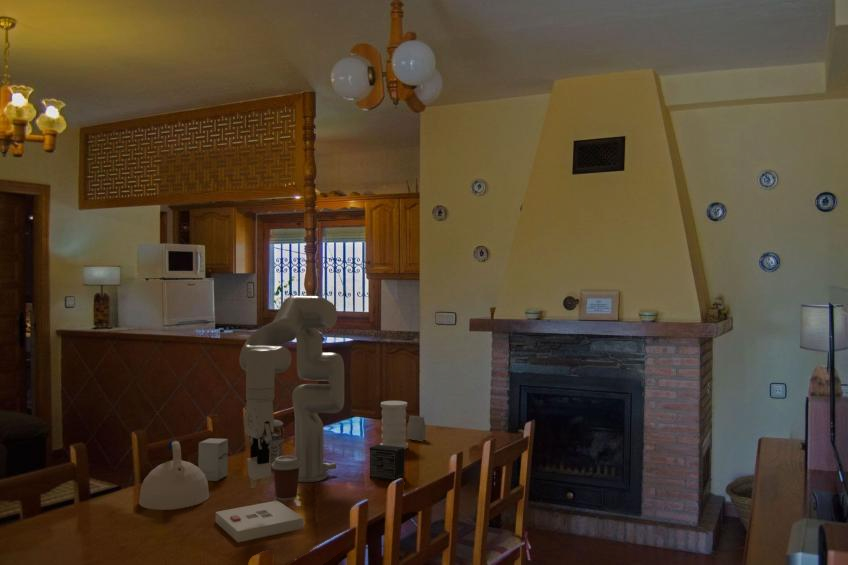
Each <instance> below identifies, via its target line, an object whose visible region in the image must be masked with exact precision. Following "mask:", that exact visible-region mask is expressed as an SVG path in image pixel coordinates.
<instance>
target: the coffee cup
mask: <svg viewBox="0 0 848 565" xmlns="http://www.w3.org/2000/svg"><path fill="white" fill-rule="evenodd" d="M299 467H301V462H299V460H298V458H297V457H296V456H295V455H283V456H280V457H277V458H275V461H274V463H272V464H271V469H273V478H274V493H275V499H276V501H282V502H283V501H293V500H295V499H297V498H298V487H299V482H298V477H299Z"/></svg>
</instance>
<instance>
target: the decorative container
mask: <svg viewBox="0 0 848 565" xmlns="http://www.w3.org/2000/svg"><path fill="white" fill-rule="evenodd" d="M407 407H408V402H407V401H403V400H386V401H385V400H384V401H381V402H380V408H382V409H381V417H382V418H381V421H380V422H381V424H382V425H381V436H380V438H381V442H380V443H379V445H387V446H397V447H404V449H405V450H407V449H408V448H409V444H408V442H406V440H407V426H406V423H407V418H406V415H407V410H406V409H407ZM406 448H407V449H406Z"/></svg>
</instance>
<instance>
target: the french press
mask: <svg viewBox="0 0 848 565" xmlns="http://www.w3.org/2000/svg"><path fill="white" fill-rule="evenodd" d="M275 395H276V394H275V393H274V398H275ZM273 401H274V400H272V402H273ZM273 403H274V402H273ZM283 425H284V422H282V421H281V420H279V419H274V428H276V430H279V432H273V435H272V436H271V437H272V441H271V442H270V448H269V457H270V463H271V465H272V463H274V461H275V458H277V457H280V456H284V455H283V450H284V449H283V444H284V443H283V442H284V440H285V436H283V433H281V428H282V430H283V432H285V429H284V427H283ZM282 436H283V437H282ZM262 437H265V435H262ZM263 440H265V439H262V442H263Z"/></svg>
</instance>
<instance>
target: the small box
mask: <svg viewBox="0 0 848 565" xmlns="http://www.w3.org/2000/svg"><path fill="white" fill-rule="evenodd" d="M403 477H404V478H405V450H404V447H397V446H387V445H380V444H377V445H374V446H371V447H369V478H370V479H373V480H382V481H389V482H394V481H393V480H396V479H398V478H402V479H404V478H403Z"/></svg>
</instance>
